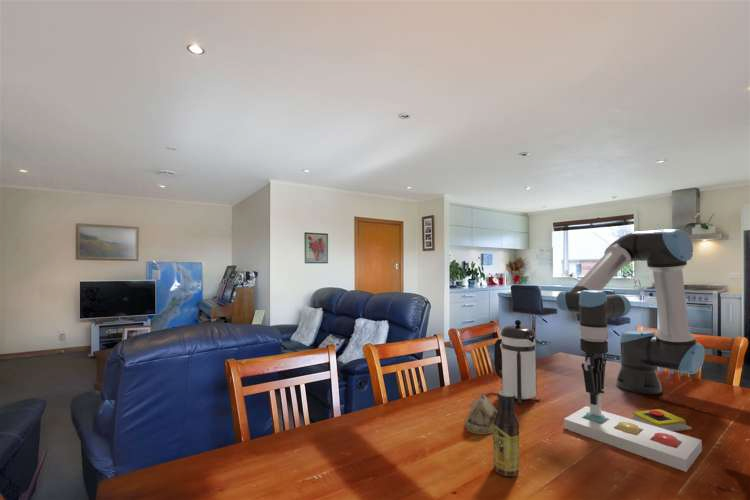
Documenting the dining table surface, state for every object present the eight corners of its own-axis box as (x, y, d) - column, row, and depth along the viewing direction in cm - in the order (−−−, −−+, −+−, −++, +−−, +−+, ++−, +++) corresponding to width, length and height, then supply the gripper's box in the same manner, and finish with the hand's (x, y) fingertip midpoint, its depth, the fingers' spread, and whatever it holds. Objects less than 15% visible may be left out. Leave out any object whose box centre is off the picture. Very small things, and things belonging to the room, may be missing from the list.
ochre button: (622, 431, 112) (621, 420, 112) (641, 438, 108) (641, 426, 108) (615, 436, 109) (615, 424, 109) (635, 443, 105) (635, 431, 105)
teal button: (590, 421, 119) (590, 410, 119) (607, 427, 115) (607, 415, 115) (583, 425, 116) (583, 414, 116) (601, 431, 112) (600, 420, 112)
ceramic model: (470, 414, 127) (469, 385, 127) (504, 420, 122) (503, 390, 122) (460, 431, 114) (459, 399, 115) (497, 439, 109) (497, 405, 109)
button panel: (586, 414, 125) (586, 406, 125) (701, 450, 101) (701, 440, 101) (564, 428, 115) (564, 418, 115) (686, 471, 91) (685, 459, 92)
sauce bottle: (489, 464, 95) (488, 388, 96) (512, 463, 96) (511, 387, 96) (500, 480, 89) (498, 397, 89) (524, 478, 89) (523, 396, 90)
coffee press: (540, 393, 145) (539, 317, 146) (540, 408, 131) (538, 324, 131) (495, 387, 152) (493, 315, 153) (490, 400, 138) (488, 321, 139)
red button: (658, 443, 105) (657, 431, 105) (680, 450, 101) (679, 437, 101) (652, 449, 102) (652, 436, 102) (674, 456, 98) (674, 443, 98)
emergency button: (627, 408, 121) (664, 404, 124) (627, 421, 121) (664, 417, 124) (653, 420, 112) (693, 416, 115) (654, 435, 111) (693, 430, 114)
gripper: (589, 334, 123) (591, 404, 122) (571, 340, 115) (573, 415, 115) (614, 338, 117) (616, 412, 117) (597, 344, 109) (600, 423, 109)
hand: (595, 413), depth 116 cm, fingers closed
